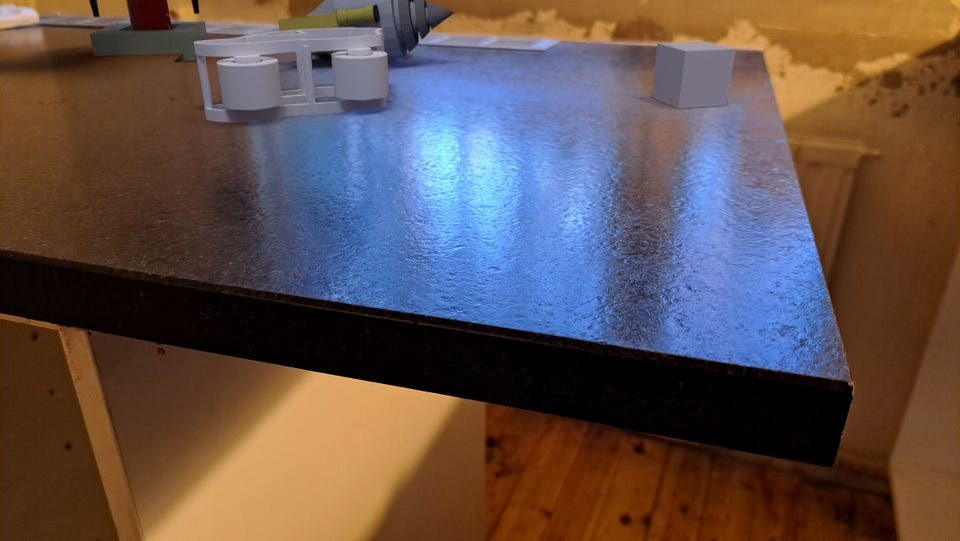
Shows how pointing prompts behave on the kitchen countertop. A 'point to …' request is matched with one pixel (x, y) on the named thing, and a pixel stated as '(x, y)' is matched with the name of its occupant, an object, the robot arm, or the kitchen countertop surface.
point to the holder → (149, 40)
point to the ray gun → (375, 21)
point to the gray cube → (692, 74)
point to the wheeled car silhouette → (257, 80)
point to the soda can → (149, 14)
